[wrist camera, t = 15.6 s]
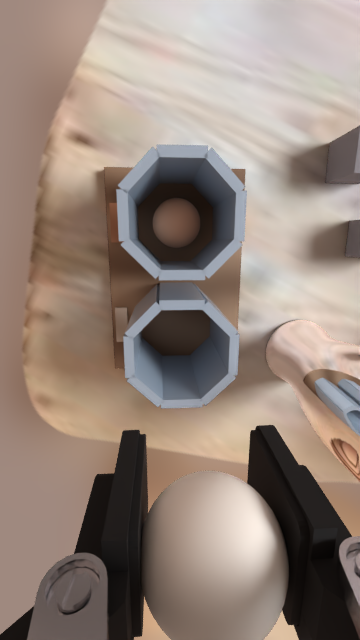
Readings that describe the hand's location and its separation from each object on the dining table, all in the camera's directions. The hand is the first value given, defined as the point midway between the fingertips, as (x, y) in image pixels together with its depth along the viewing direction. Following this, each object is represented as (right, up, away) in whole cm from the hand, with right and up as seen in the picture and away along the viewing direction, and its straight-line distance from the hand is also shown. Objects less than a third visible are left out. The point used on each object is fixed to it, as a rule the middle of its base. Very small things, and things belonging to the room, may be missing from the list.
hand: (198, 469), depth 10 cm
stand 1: (+13, +18, +15) cm, 27 cm away
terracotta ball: (-1, +13, +15) cm, 20 cm away
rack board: (-1, +9, +17) cm, 19 cm away
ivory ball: (0, 0, -1) cm, 1 cm away
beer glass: (+10, +2, +19) cm, 22 cm away
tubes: (-1, +9, +17) cm, 19 cm away
